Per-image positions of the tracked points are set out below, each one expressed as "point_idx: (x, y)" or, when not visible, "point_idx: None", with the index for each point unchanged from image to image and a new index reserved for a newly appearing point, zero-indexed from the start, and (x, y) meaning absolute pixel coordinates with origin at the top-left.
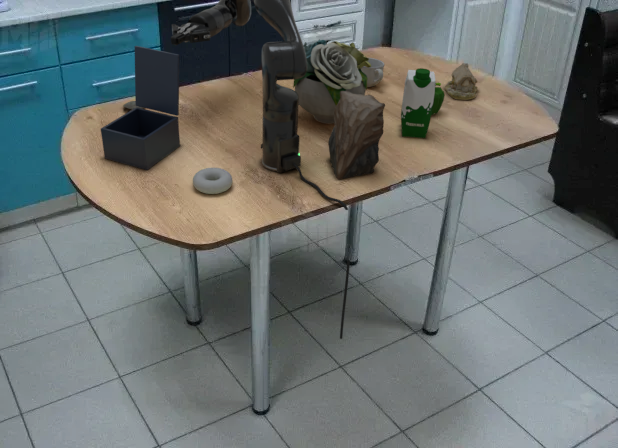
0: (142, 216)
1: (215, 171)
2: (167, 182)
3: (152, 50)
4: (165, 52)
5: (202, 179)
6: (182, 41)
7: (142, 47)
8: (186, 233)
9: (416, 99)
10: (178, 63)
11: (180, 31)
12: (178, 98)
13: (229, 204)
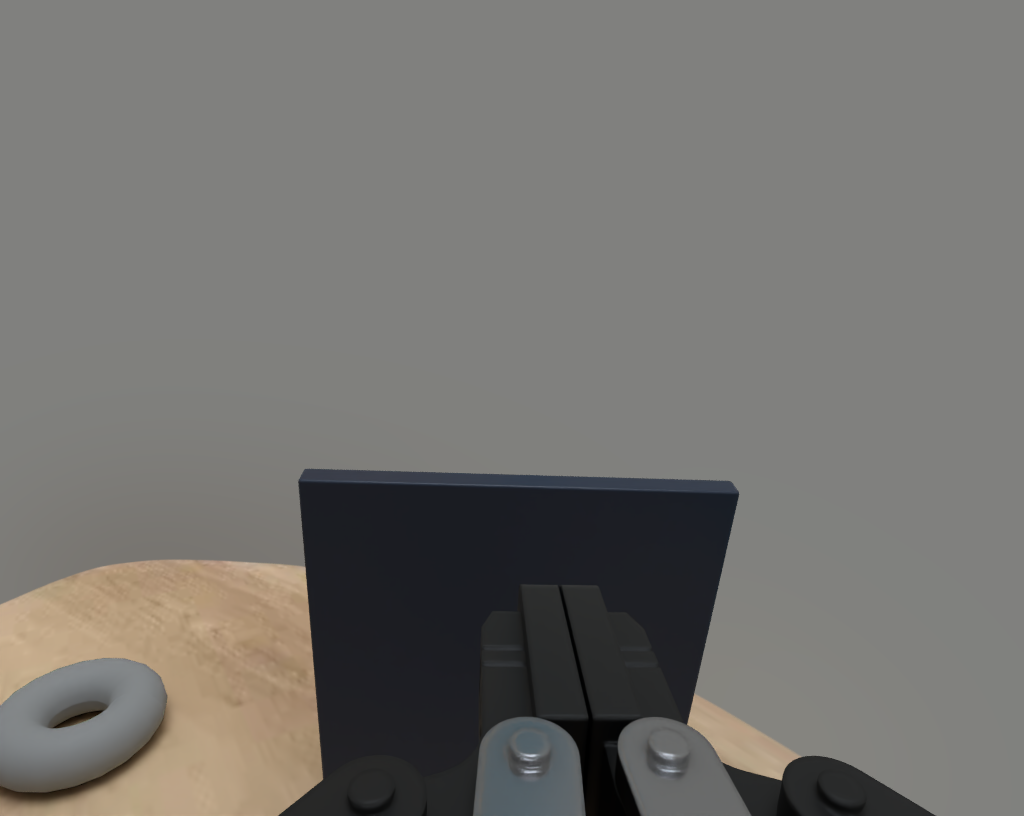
0: (286, 584)
1: (61, 728)
2: (275, 702)
3: (555, 479)
4: (428, 472)
5: (118, 665)
6: (479, 735)
7: (661, 482)
8: (153, 574)
9: None
10: (306, 534)
11: (681, 788)
12: (321, 749)
13: (13, 682)
